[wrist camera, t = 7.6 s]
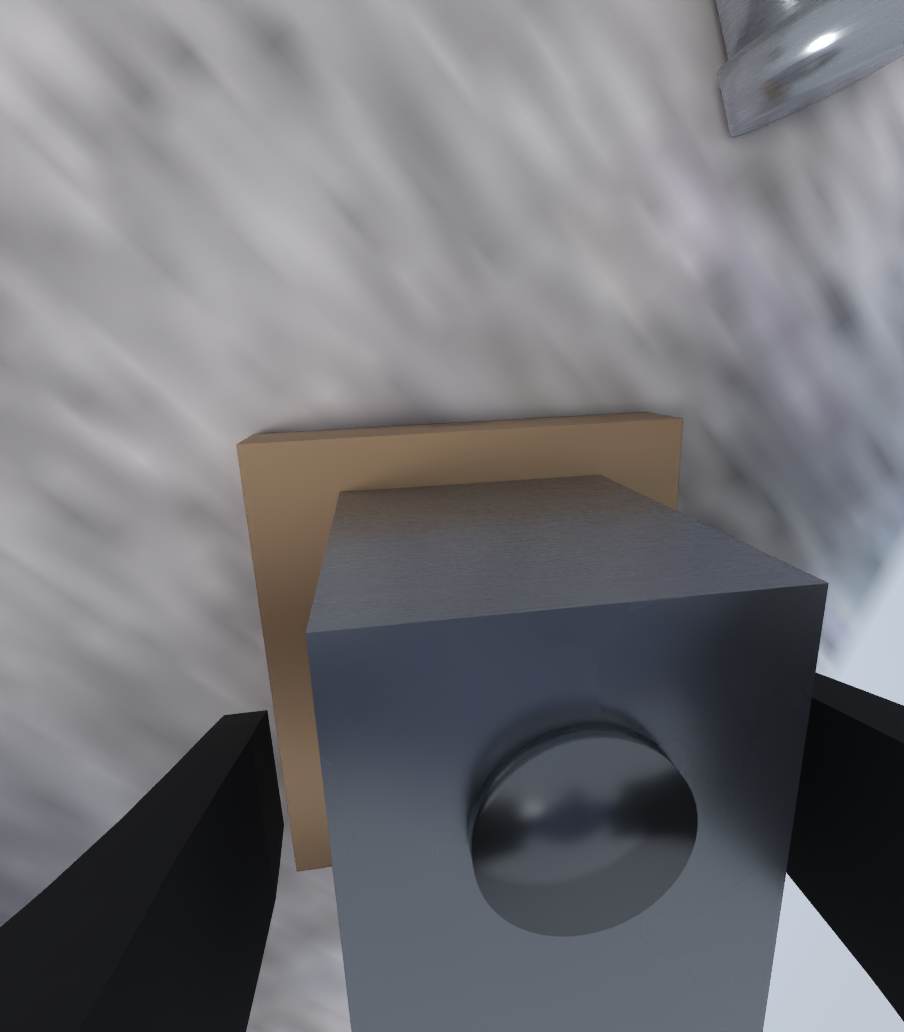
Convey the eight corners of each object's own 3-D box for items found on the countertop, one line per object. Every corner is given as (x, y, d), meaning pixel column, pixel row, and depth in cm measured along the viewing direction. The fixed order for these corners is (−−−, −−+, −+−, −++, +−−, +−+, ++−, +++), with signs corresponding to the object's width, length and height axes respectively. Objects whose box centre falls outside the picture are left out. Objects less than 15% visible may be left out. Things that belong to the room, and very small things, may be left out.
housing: (590, 788, 12) (769, 1131, 7) (370, 819, 12) (368, 1221, 6) (601, 474, 11) (854, 595, 5) (339, 491, 10) (301, 650, 4)
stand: (628, 772, 14) (656, 818, 13) (305, 817, 13) (296, 871, 12) (645, 412, 12) (682, 418, 11) (253, 434, 11) (236, 444, 10)
